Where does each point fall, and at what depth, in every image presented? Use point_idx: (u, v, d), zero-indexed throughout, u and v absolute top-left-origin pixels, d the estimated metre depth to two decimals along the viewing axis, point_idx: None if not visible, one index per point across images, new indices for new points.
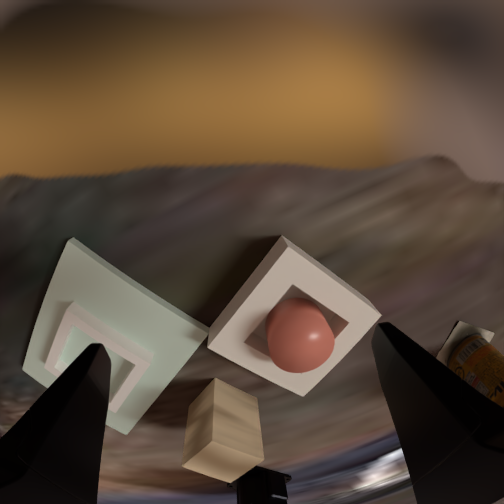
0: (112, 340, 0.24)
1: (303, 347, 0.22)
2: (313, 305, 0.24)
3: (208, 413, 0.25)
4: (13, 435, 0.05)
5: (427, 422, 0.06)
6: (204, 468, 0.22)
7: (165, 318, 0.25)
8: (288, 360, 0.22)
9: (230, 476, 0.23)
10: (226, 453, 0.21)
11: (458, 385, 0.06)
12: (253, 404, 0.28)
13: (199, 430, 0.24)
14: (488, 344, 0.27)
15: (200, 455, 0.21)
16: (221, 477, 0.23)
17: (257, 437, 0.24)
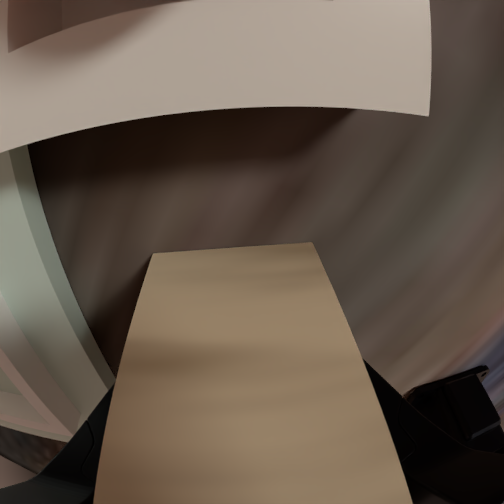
0: None
1: None
2: None
3: None
4: (73, 450, 0.05)
5: None
6: None
7: None
8: None
9: None
10: None
11: (396, 404, 0.06)
12: (303, 266, 0.09)
13: None
14: None
15: None
16: None
17: (352, 398, 0.05)
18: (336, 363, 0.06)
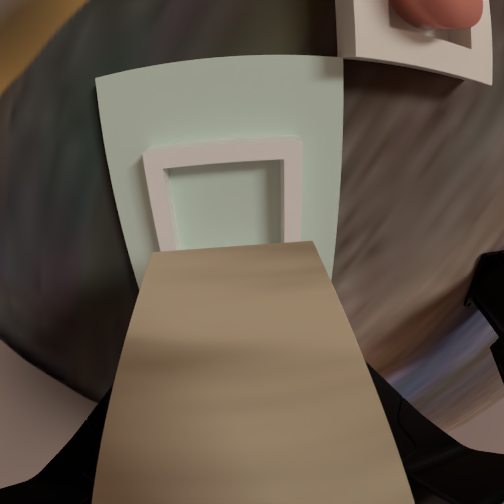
0: (230, 144, 0.16)
1: None
2: None
3: None
4: (73, 450, 0.05)
5: None
6: None
7: (278, 69, 0.15)
8: (451, 10, 0.10)
9: None
10: None
11: (396, 405, 0.06)
12: (303, 264, 0.09)
13: None
14: None
15: None
16: None
17: (353, 397, 0.05)
18: (337, 362, 0.06)
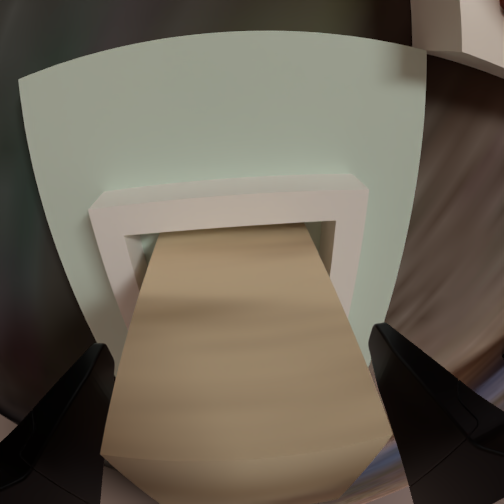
0: (243, 194, 0.09)
1: None
2: None
3: None
4: (16, 436, 0.05)
5: (423, 423, 0.06)
6: None
7: (328, 59, 0.08)
8: None
9: (321, 495, 0.06)
10: (212, 476, 0.05)
11: (454, 386, 0.06)
12: (294, 239, 0.10)
13: None
14: None
15: (159, 492, 0.05)
16: (298, 503, 0.07)
17: (334, 341, 0.06)
18: (321, 313, 0.07)
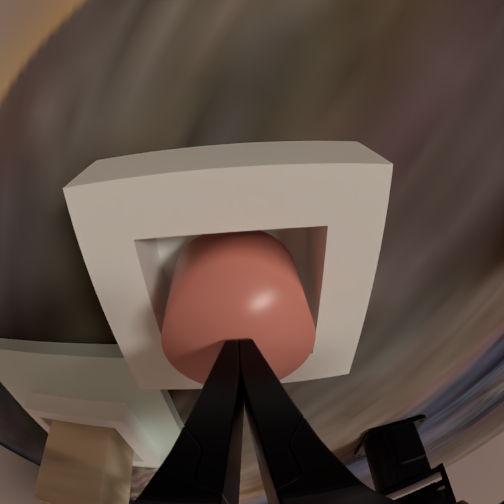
0: (73, 416, 0.16)
1: None
2: (223, 238, 0.10)
3: None
4: (178, 461, 0.05)
5: (260, 457, 0.06)
6: None
7: (91, 366, 0.16)
8: None
9: None
10: None
11: (292, 425, 0.06)
12: (103, 428, 0.17)
13: None
14: None
15: None
16: None
17: (94, 482, 0.14)
18: (95, 470, 0.14)
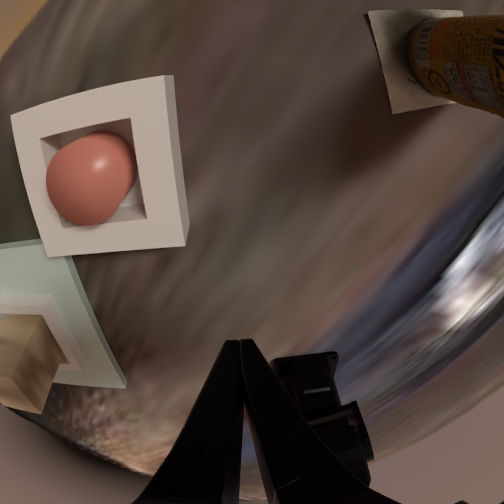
0: (15, 305, 0.21)
1: (81, 184, 0.15)
2: (88, 134, 0.16)
3: None
4: (178, 461, 0.05)
5: (260, 457, 0.06)
6: (9, 402, 0.19)
7: (27, 255, 0.21)
8: (85, 210, 0.16)
9: (29, 406, 0.19)
10: None
11: (292, 425, 0.06)
12: (35, 318, 0.22)
13: None
14: (448, 17, 0.12)
15: None
16: (28, 409, 0.19)
17: (17, 354, 0.19)
18: (20, 346, 0.19)
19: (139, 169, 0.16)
